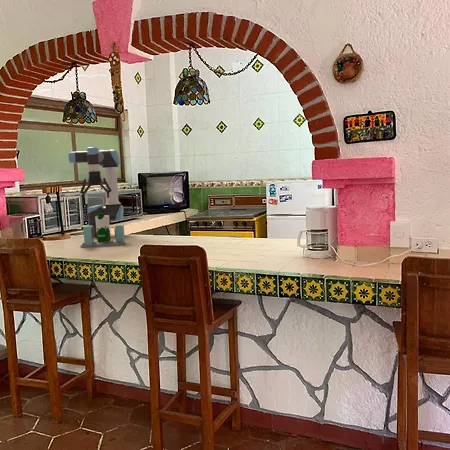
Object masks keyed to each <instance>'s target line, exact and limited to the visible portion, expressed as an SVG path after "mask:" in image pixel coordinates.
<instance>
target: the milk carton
mask: <svg viewBox="0 0 450 450" xmlns="http://www.w3.org/2000/svg"><path fill="white" fill-rule="evenodd" d="M95 220H96V232H97V237H96V239H97V241H96V242H97V243H106V242H110V241H112V240H111V227H110V226H111V225H110V221H109V215H104V213H98V216H96V217H95Z"/></svg>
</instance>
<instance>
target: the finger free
mask: <svg viewBox="0 0 450 450" xmlns="http://www.w3.org/2000/svg"><path fill="white" fill-rule="evenodd" d="M113 230H114V237H115V242H120V241H122V240H124V242H125V243H126V239H125V238H126V237H125V224H116V225H115V226H114V229H113Z"/></svg>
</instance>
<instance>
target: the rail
mask: <svg viewBox="0 0 450 450" xmlns="http://www.w3.org/2000/svg"><path fill="white" fill-rule="evenodd" d="M124 244H125V245H126V241H125V242H124V240H122V241H120V242H116V241H114V240H113V239H112V240H110V241H108V242H98V241H96V240H94V242H93V244H92V245H85V243H84V242H82V243H81V244H80V248H82V249H83V248H97V247H98V248H99V247H103V248H104V247H121V246H120V245H123V246H125V245H124Z"/></svg>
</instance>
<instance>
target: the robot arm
mask: <svg viewBox="0 0 450 450" xmlns="http://www.w3.org/2000/svg"><path fill="white" fill-rule="evenodd" d="M67 157H68V161H69V163H70V164H86V165H87V170H88V178H84V179H83V184H82V187H81V189H80V190H79V191H80V192H79V193H80V194H82V196H83V199H84V202H85V205H88V204H89V203H88V194H87V192H88V191H89V190H90V188H91V187H92V186H99V187H101V189H103V190H104V191H105V194H104V195H105V206H104V204H98V205H92V206H89V207H88V208H87V219H88V221H87V222H88V223H87V224H88V226H93V228H94V238H97V232H96V220H95V217H96V216H98V213H104V215H109V222H119V221H122V220H123V218H124V212H125V211H124V206H123V205H122V203H121V202H120V201H119V200H120V199H119V189H118V186H119V185H118V175H117V169H118V168H119V166H120V165H121V159H120V158H121V157H120V154H119V152H118V150H117V149H111V148H110V149H100V150H99V148H98V147H97V146H90V147H87V148H86V151H85V150H84V151H70V152H68V156H67ZM101 167H102V170H104V176H105V177H102V176H101V174H102V173H101V171H100V170H101ZM88 182H89V184H88V185H87V183H88ZM102 182H103V183H104V184H103V183H102ZM104 185H105V186H104Z"/></svg>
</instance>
